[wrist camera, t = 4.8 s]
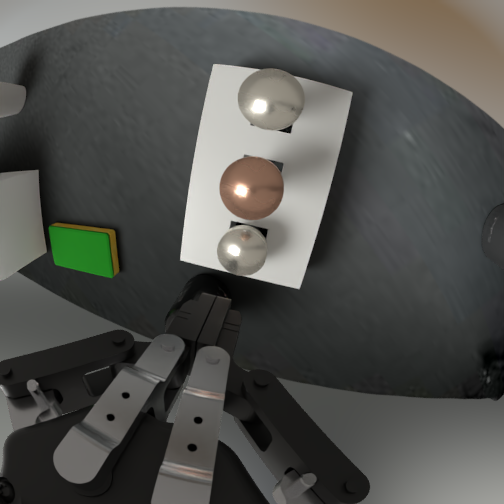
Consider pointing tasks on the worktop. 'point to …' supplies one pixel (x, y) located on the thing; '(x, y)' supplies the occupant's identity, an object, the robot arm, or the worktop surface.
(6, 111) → the dixie cup
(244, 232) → the knob
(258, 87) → the knob
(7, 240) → the white house-shaped block
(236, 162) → the knob centre
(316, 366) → the worktop surface
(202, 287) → the supplement bottle
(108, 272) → the dish sponge
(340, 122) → the mount
